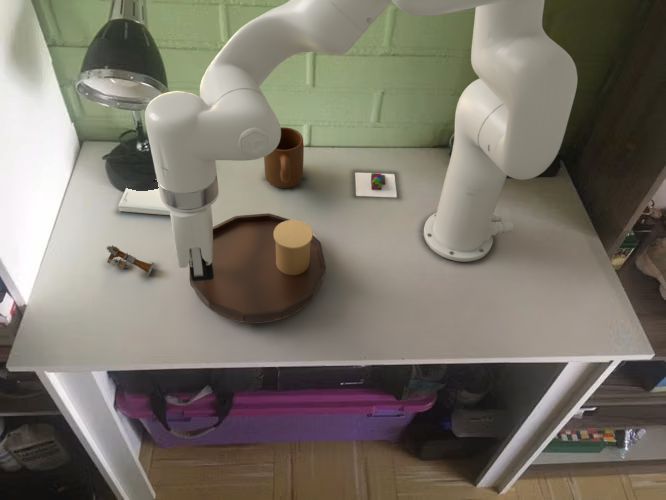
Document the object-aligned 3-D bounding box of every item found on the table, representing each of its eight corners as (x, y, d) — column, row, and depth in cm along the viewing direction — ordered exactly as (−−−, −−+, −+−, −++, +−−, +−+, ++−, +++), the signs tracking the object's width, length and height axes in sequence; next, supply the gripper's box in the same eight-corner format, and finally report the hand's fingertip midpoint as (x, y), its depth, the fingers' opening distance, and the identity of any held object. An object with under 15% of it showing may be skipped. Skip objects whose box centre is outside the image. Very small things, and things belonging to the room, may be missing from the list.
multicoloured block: (396, 197, 117) (398, 187, 115) (356, 195, 116) (357, 186, 114) (394, 174, 121) (395, 164, 120) (355, 172, 121) (356, 162, 119)
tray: (313, 218, 109) (315, 183, 103) (333, 315, 94) (336, 280, 88) (190, 228, 105) (184, 192, 99) (191, 329, 91) (184, 295, 85)
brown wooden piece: (105, 254, 101) (110, 240, 98) (149, 275, 103) (155, 262, 100) (100, 262, 100) (105, 248, 97) (144, 283, 102) (150, 270, 98)
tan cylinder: (308, 247, 103) (309, 218, 97) (313, 274, 98) (315, 245, 93) (272, 250, 102) (271, 221, 96) (276, 278, 97) (275, 249, 92)
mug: (305, 204, 114) (307, 166, 107) (265, 205, 113) (264, 166, 106) (301, 164, 122) (302, 126, 115) (264, 165, 121) (262, 126, 114)
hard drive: (117, 205, 109) (185, 211, 108) (131, 176, 114) (195, 181, 114) (119, 212, 110) (186, 217, 110) (132, 183, 115) (196, 188, 115)
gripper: (160, 151, 82) (177, 243, 95) (157, 227, 72) (177, 318, 85) (215, 147, 83) (225, 239, 96) (220, 223, 73) (230, 313, 86)
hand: (202, 276), depth 91 cm, fingers closed
